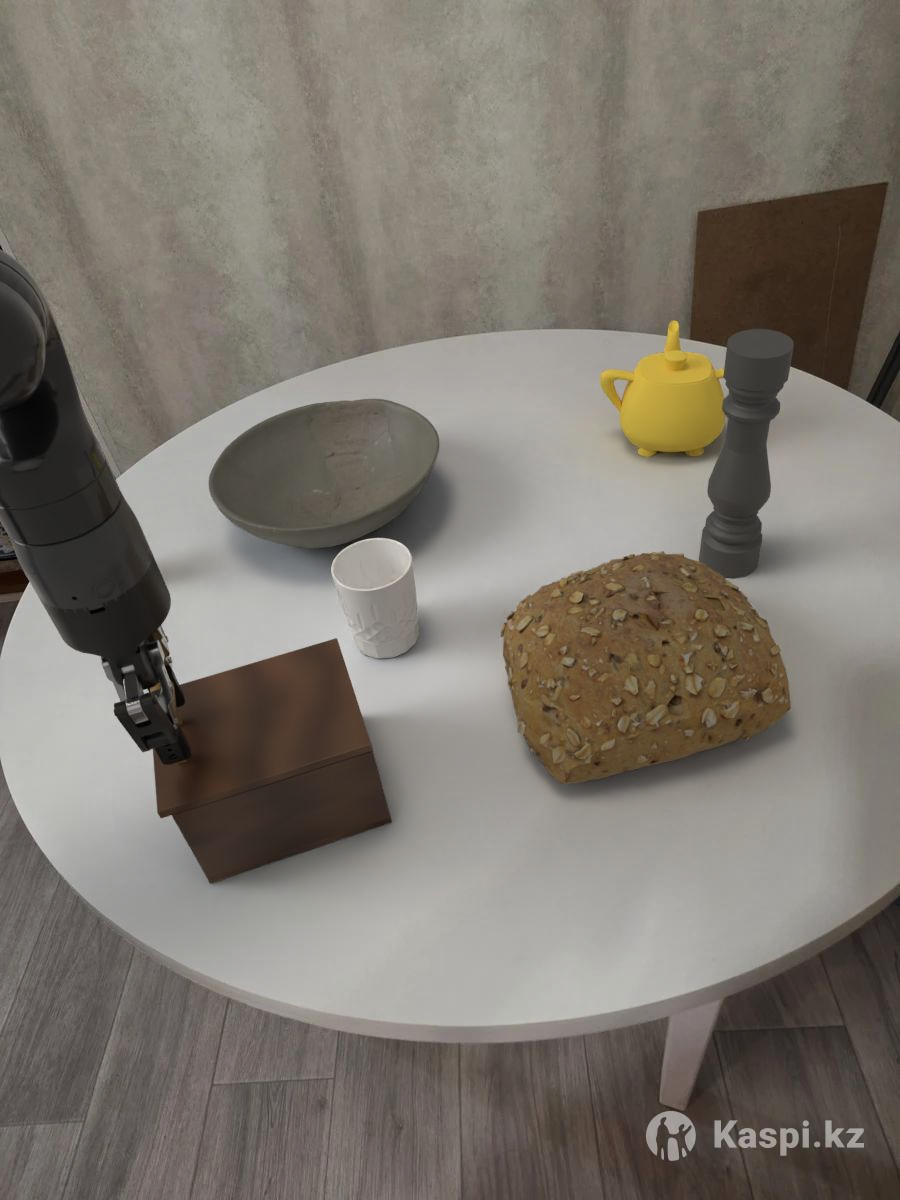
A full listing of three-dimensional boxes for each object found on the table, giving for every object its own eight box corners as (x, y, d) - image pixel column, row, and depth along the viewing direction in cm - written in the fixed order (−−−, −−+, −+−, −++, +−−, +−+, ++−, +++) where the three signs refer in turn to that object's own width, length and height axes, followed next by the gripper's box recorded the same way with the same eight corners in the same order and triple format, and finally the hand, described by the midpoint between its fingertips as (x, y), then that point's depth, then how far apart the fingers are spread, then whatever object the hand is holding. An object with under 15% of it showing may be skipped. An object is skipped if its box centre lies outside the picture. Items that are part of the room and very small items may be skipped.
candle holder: (722, 534, 97) (752, 321, 80) (770, 558, 93) (812, 340, 76) (686, 560, 94) (709, 345, 77) (734, 586, 90) (768, 367, 73)
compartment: (209, 883, 71) (171, 815, 64) (195, 767, 80) (161, 697, 73) (392, 822, 73) (373, 751, 67) (358, 716, 82) (338, 644, 76)
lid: (160, 819, 64) (134, 773, 60) (151, 699, 73) (128, 654, 69) (373, 750, 67) (360, 703, 63) (338, 644, 76) (325, 597, 72)
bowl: (484, 469, 111) (479, 413, 105) (373, 609, 93) (360, 550, 88) (310, 435, 122) (297, 382, 116) (181, 554, 104) (158, 499, 99)
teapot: (751, 434, 111) (764, 348, 103) (675, 481, 105) (683, 394, 97) (667, 397, 119) (673, 315, 111) (593, 439, 113) (594, 356, 105)
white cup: (437, 619, 91) (425, 546, 84) (403, 671, 86) (388, 598, 79) (372, 603, 94) (356, 531, 87) (336, 653, 89) (315, 580, 82)
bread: (696, 587, 91) (707, 493, 83) (810, 739, 75) (838, 642, 67) (474, 646, 88) (463, 555, 80) (545, 818, 72) (541, 726, 64)
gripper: (38, 521, 61) (124, 682, 72) (28, 656, 50) (130, 820, 62) (145, 493, 62) (213, 656, 73) (156, 619, 52) (234, 787, 63)
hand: (175, 730), depth 68 cm, fingers closed on lid, 5 cm apart
